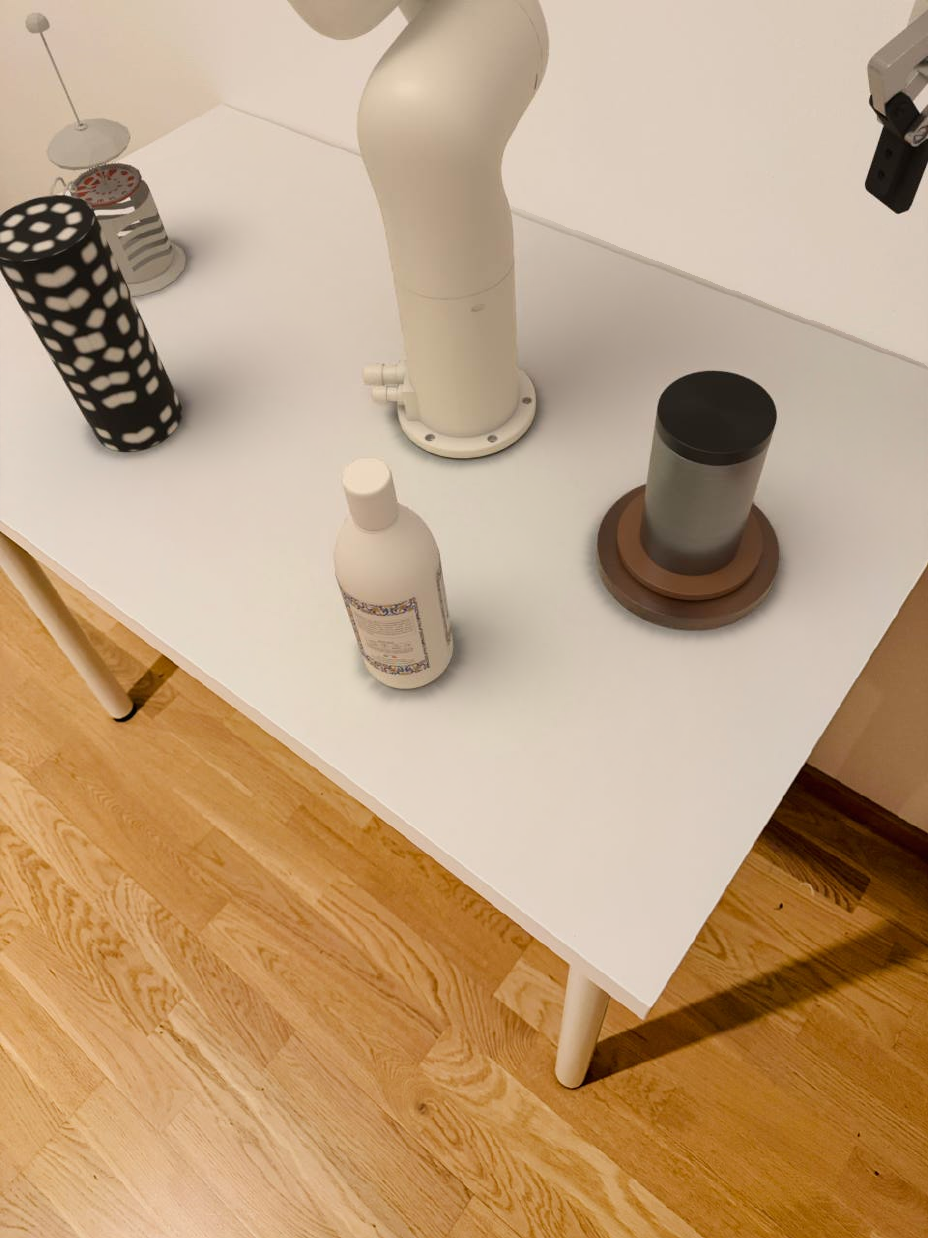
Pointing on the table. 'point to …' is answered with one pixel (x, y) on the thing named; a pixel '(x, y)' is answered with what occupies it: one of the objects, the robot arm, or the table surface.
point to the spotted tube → (87, 320)
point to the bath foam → (391, 581)
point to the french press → (114, 194)
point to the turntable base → (678, 610)
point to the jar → (700, 488)
